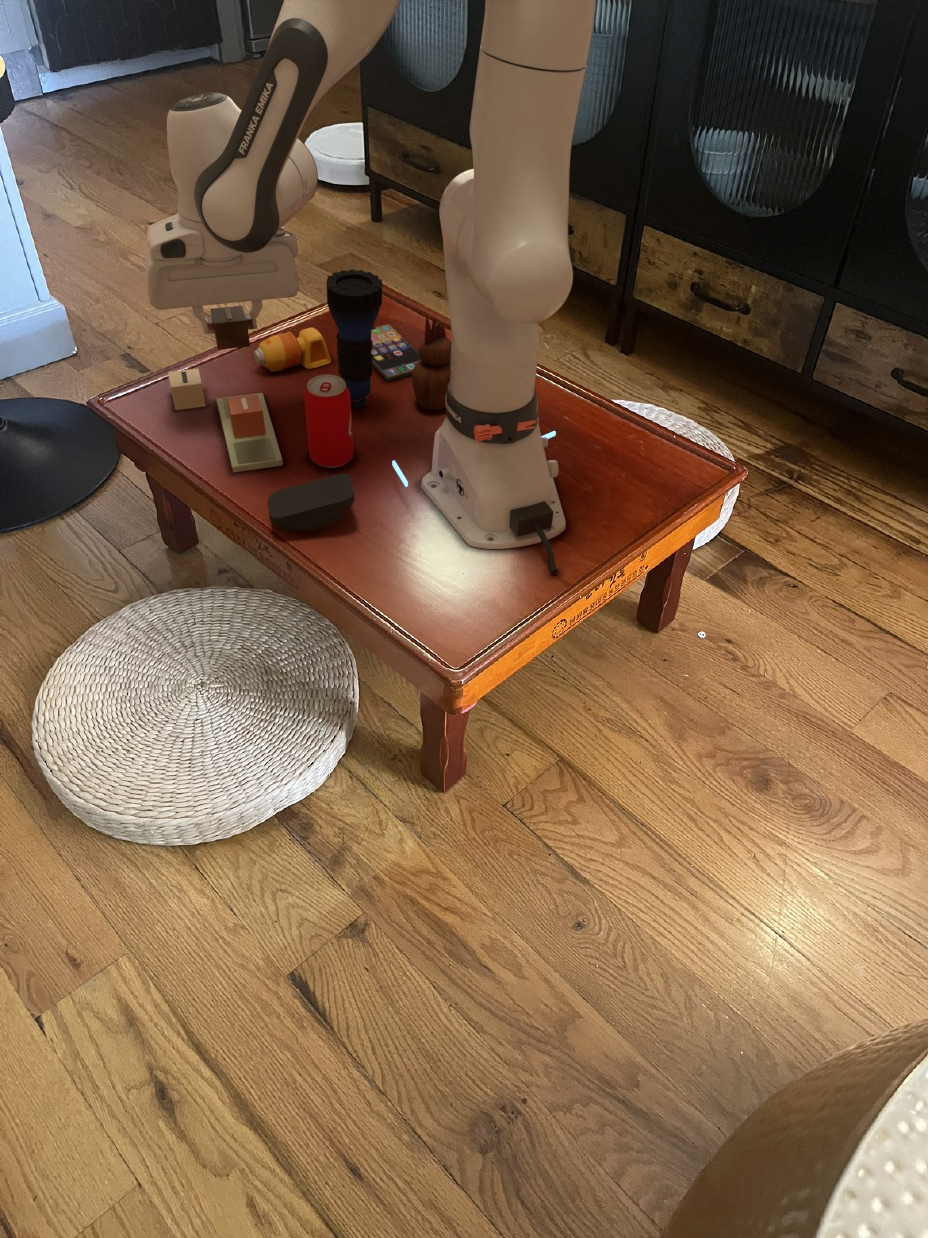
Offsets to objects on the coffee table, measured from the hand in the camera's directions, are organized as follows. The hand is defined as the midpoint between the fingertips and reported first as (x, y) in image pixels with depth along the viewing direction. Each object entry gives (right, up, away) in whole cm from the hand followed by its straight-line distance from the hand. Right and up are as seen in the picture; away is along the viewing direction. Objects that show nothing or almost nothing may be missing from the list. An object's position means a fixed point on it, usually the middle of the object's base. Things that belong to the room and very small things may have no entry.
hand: (230, 329), depth 132 cm
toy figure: (+5, 0, +20) cm, 20 cm away
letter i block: (-9, -7, +11) cm, 16 cm away
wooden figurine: (+28, -8, +13) cm, 32 cm away
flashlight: (+17, -8, +12) cm, 22 cm away
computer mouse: (+13, -25, -11) cm, 30 cm away
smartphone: (+21, +3, +23) cm, 31 cm away
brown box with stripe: (0, -1, +1) cm, 2 cm away
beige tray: (+1, -14, +5) cm, 15 cm away
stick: (+27, +2, +23) cm, 35 cm away
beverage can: (+14, -18, +2) cm, 23 cm away
